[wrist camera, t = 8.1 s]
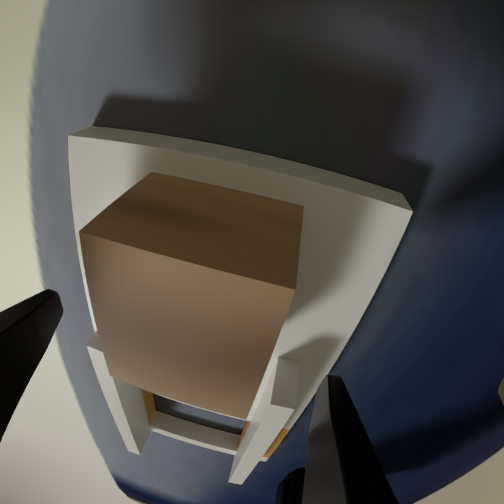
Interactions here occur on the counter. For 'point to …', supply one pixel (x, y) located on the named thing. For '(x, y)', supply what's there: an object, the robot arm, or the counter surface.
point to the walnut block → (192, 288)
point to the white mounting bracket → (307, 286)
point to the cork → (501, 390)
